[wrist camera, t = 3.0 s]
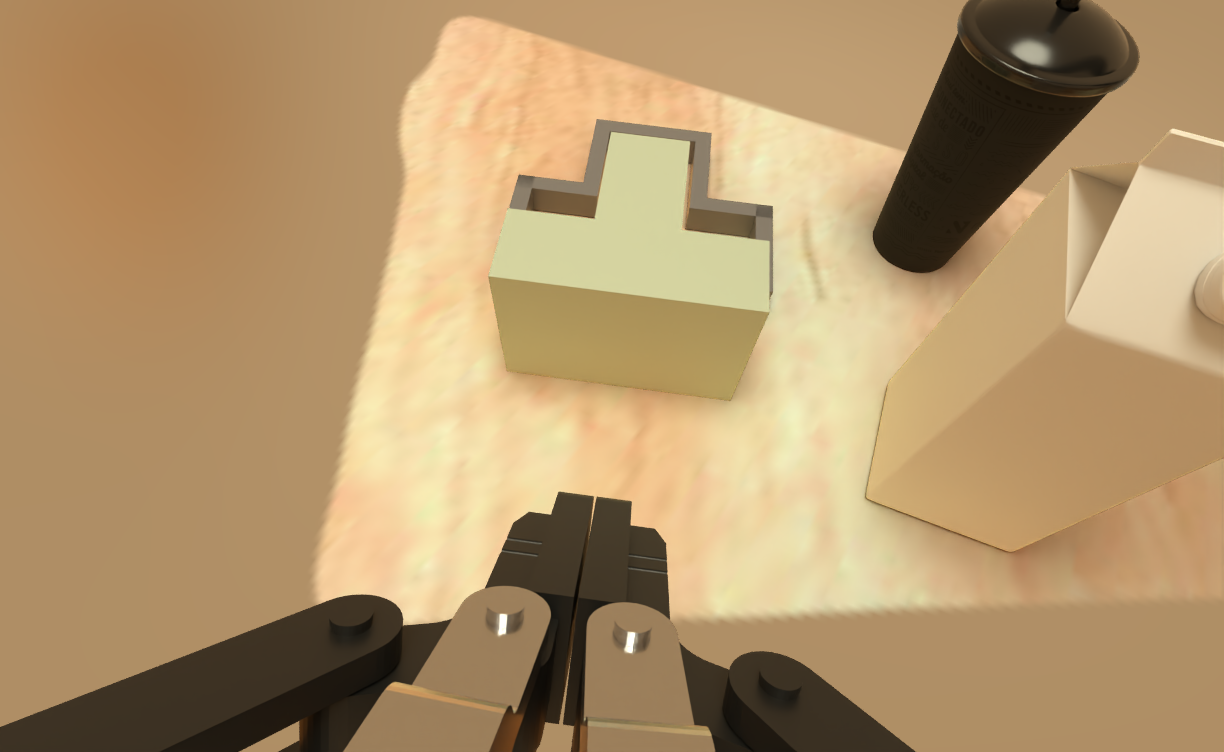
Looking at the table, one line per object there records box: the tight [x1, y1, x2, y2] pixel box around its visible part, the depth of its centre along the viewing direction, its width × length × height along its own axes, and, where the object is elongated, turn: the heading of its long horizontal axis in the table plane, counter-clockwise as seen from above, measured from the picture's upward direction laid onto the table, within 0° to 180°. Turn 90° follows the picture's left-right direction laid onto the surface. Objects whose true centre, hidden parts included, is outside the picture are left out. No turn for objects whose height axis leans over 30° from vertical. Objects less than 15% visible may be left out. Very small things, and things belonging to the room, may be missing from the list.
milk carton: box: [866, 129, 1224, 552], centre depth 24 cm, size 7×7×19 cm
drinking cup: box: [873, 0, 1139, 272], centre depth 31 cm, size 8×8×20 cm
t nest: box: [509, 119, 773, 300], centre depth 39 cm, size 16×13×2 cm
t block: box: [488, 132, 770, 401], centre depth 33 cm, size 12×10×8 cm
